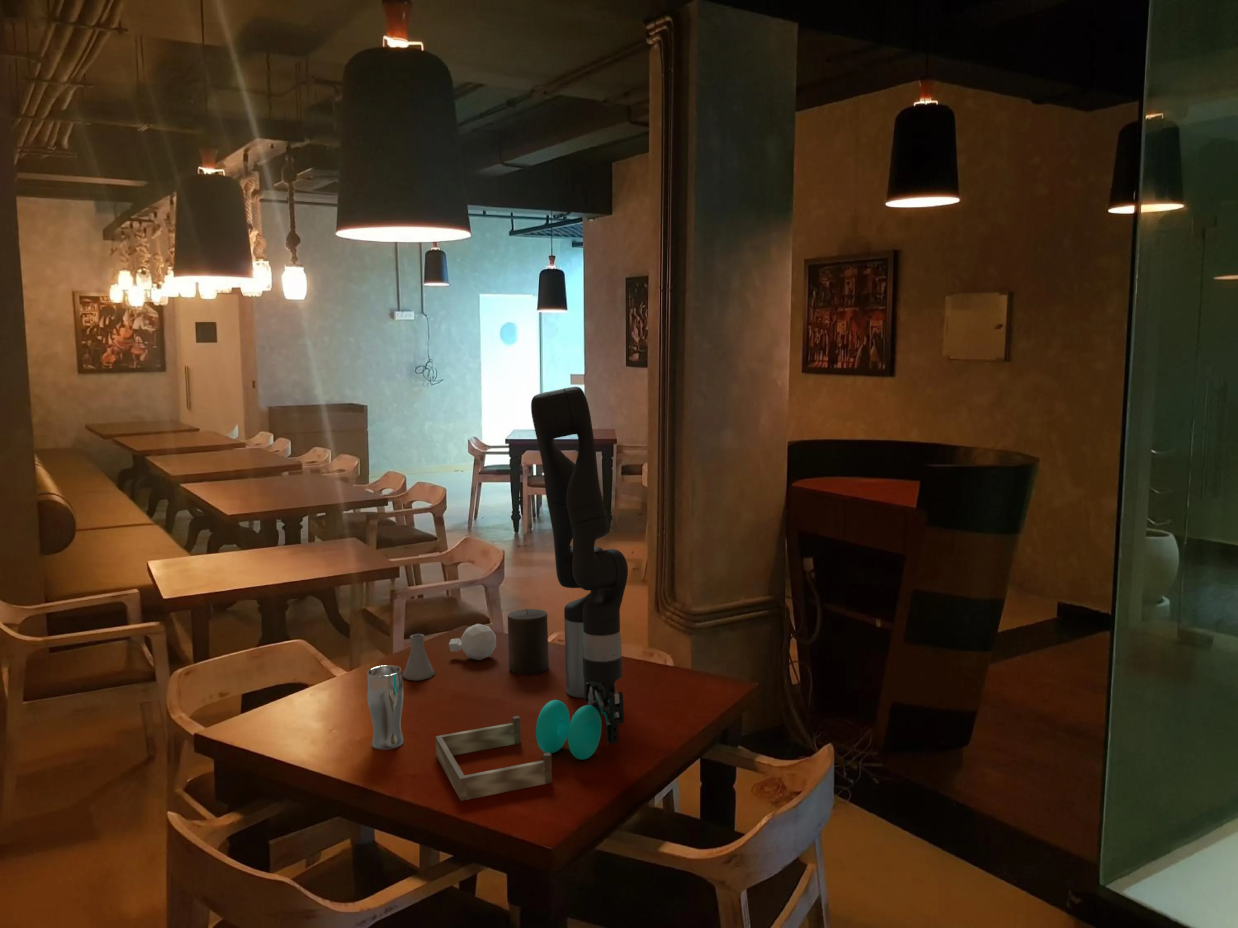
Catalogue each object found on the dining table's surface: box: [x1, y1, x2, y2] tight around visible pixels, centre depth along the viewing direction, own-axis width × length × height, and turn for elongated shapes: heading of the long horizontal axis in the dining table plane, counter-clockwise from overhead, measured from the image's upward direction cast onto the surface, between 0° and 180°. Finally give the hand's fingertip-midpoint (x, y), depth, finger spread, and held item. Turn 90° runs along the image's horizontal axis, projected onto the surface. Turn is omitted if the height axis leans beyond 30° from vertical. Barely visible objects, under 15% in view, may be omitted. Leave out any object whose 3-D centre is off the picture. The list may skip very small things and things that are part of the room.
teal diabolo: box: [535, 699, 603, 761], centre depth 180 cm, size 10×10×10 cm
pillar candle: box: [507, 608, 550, 675], centre depth 229 cm, size 10×10×15 cm
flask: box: [402, 633, 436, 682], centre depth 225 cm, size 7×7×10 cm
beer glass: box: [366, 664, 404, 751], centre depth 186 cm, size 7×7×15 cm
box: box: [435, 715, 553, 802], centre depth 174 cm, size 16×20×5 cm
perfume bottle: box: [448, 623, 497, 661], centre depth 238 cm, size 9×9×12 cm
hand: (604, 734), depth 183 cm, fingers open, 8 cm apart
